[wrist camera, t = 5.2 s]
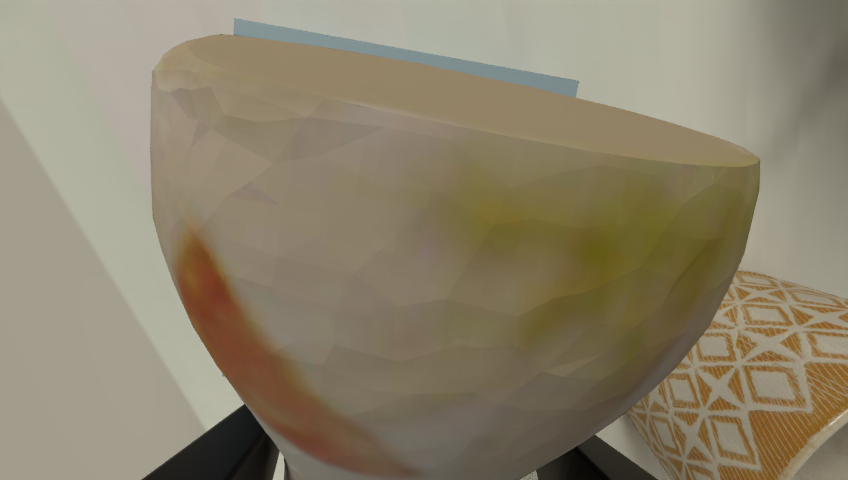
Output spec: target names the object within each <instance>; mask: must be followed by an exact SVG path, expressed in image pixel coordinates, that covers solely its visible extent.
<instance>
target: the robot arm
mask: <svg viewBox="0 0 848 480" xmlns="http://www.w3.org/2000/svg"><path fill="white" fill-rule="evenodd" d="M279 452H280V450H279V449H278V447H277V446H276V444H275V443H274V442H273V440H272V439H271V438H270V436H269V435H268V434H267V433H266V432H265V430H264V429H263V428H262V426H261V425H260V424H259V422H258V421H257V419H256V418H255V417H254V415H253V414H252V412H251V411H250V410H249V409H248V407H247V406H246V405H245V404H244V405H242V406H241V407H240V408H238V409H237V410H235V411H234V412H233V413H231V414H230V415H229V416H227V417H226V418H225V419H223V420H222V421H221V422H219V423H218V424H216V425H215V426H214V427H212V428H211V429H210V430H208V431H207V432H206V433H204V434H203V435H202V436H200V437H199V438H198V439H196V440H195V441H193V442H192V443H191V444H190V445H188V446H187V447H185V448H184V449H183V450H181V451H180V452H179V453H177V454H176V455H174V456H173V457H172V458H170V459H169V460H168V461H166V462H165V463H164V464H162V465H161V466H159V467H158V468H157V469H155V470H154V471H153V472H151V473H150V474H149V475H147V476H146V477H145V478H143V479H142V480H272V479H273V475H274V472H275V468H276V464H277V460H278V456H279ZM536 472H537V476H538V480H658V479H656V478H655V477H653V476H652V475H651V474H649V473H648V472H646V471H645V470H644V469H642V468H641V467H639V466H638V465H637V464H635V463H634V462H632V461H631V460H630V459H628V458H627V457H625V456H624V455H623V454H621V453H620V452H618V451H617V450H616V449H614V448H613V447H611V446H610V445H609V444H607V443H606V442H604V441H603V440H602V439H600V438H599V437H597V436H596V435H593V436H592V437H590V438H589V439H587V440H586V441H584V442H583V443H581V444H579V445H578V446H576V447H574V448H573V449H571V450H570V451H568V452H566V453H565V454H563V455H561V456H560V457H558V458H556V459H554V460H553V461H551V462H549V463H547V464H546V465H544V466H542V467H540V468H538V469H537V470H536Z"/></svg>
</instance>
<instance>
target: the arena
mask: <svg viewBox="0 0 848 480" xmlns="http://www.w3.org/2000/svg"><path fill="white" fill-rule="evenodd" d="M234 36H243V37H253V38H261V39H268V40H275V41H283V42H290V43H298V44H305V45H312V46H319V47H325V48H332V49H338V50H344V51H351V52H357V53H362V54H369V55H374V56H380V57H385V58H391V59H396V60H402V61H408V62H415V63H420V64H425V65H429V66H433V67H438V68H442V69H447V70H453V71H458V72H462V73H467V74H471V75H476V76H480V77H485V78H490V79H495V80H500V81H505V82H510V83H515V84H520V85H526V86H530V87H534V88H538V89H542V90H546V91H550V92H554V93H558V94H562V95H566V96H570V97H574V98H575V96H576V92H577V88H578V83H579V81H576V80H571V79H565V78H560V77H554V76H549V75H543V74H538V73H532V72H527V71H521V70H516V69H510V68H505V67H499V66H494V65H488V64H483V63H477V62H472V61H466V60H461V59H455V58H450V57H444V56H439V55H433V54H428V53H422V52H417V51H411V50H406V49H400V48H395V47H389V46H384V45H378V44H373V43H367V42H362V41H356V40H351V39H345V38H340V37H334V36H329V35H323V34H318V33H312V32H307V31H301V30H296V29H290V28H285V27H279V26H274V25H268V24H263V23H257V22H252V21H246V20H241V19H235V18H234ZM222 376H224V374H223V375H222Z"/></svg>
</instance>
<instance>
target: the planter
mask: <svg viewBox="0 0 848 480" xmlns="http://www.w3.org/2000/svg"><path fill="white" fill-rule="evenodd" d="M627 414H628V416H629V417H630V419H631V420H632V422H633V423H634V425H635V426H636V428H637V429H638V431H639V432H640V434H641V435H642V437H643V438H644V440H645V441H646V443H647V444H648V446H649V447H650V449H651V450H652V452H653V453H654V455H655V456H656V458H657V459H658V460H659V462H660V463H661V465H662V466H663V468H664V469H665V471H666V472H667V474H668V475H669V477H670V478H671V480H848V299H845V298H841V297H838V296H835V295H831V294H828V293H824V292H821V291H817V290H814V289H810V288H807V287H804V286H800V285H797V284H793V283H790V282H786V281H783V280H779V279H776V278H773V277H769V276H766V275H762V274H758V273H752V272H744V271H736V273H735V276H734V278H733V280H732V283H731V285H730V287H729V289H728V291H727V293H726V295H725V297H724V299H723V301H722V303H721V305H720V306H719V308H718V310H717V312H716V314H715V316H714V318H713V320H712V322H711V324H710V326H709V327H708V329H707V330H706V331H705V332H704V334H703V335H702V336H701V337H700V339H699V340H698V341H697V342H696V344H695V345H694V346H693V348H692V349H691V350H690V351H689V353H688V354H687V355H686V356H685V358H684V359H683V360H682V361H681V363H680V364H679V365H678V366H677V367H676V368H675V369H674V370H673V371H672V372H671V373H670V374H669V375H668V376H667V377H666V378H665V379H664V380H663V381H662V382H661V383H660V384H659V385H658V386H657V387H656V388H655V389H654V390H652V391H651V392H650V393H648V394H647V395H646V396H645V397H643V398H642V399H641V400H640V401H639V402H637V403H636V404H635V405H634V406H633V407H631V408H630V409H629V410H628V411H627Z"/></svg>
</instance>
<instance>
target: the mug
mask: <svg viewBox="0 0 848 480" xmlns="http://www.w3.org/2000/svg"><path fill="white" fill-rule="evenodd" d="M150 156H151V186H152V210H153V220H154V223H155V227H156V231H157V234H158V238H159V242H160V245H161V249H162V252H163V255H164V258H165V260H166V263H167V266H168V269H169V272H170V275H171V278H172V280H173V283H174V285H175V287H176V290H177V292H178V294H179V297H180V299H181V301H182V304H183V306H184V308H185V310H186V312H187V315H188V317H189V319H190V321H191V323H192V326H193V327H194V329H195V331H196V332H197V334H198V335H199V337H200V339H201V340H202V342H203V343H204V345H205V347H206V348H207V350H208V352H209V353H210V355H211V357H212V358H213V360H214V362H215V363H216V365H217V366H218V368H219V369H220V370H221V372H222V373H223V374H224V376H225V377H226V378H227V379H228V381H229V382H230V384H231V385H232V387H233V388H234V389H235V391H236V392H237V394H238V395H239V397H240V398H241V400H242V401H243V402H244V404H245V405H246V406H247V407H248V409H249V410H250V411H251V412H252V414H253V415H254V417H255V418H256V419H257V421H258V422H259V424H260V425H261V426H262V428H263V429H264V430H265V432H266V433H267V434H268V435H269V436H270V438H271V439H272V440H273V442H274V443H275V444H276V446H277V447H278V449H279V450H280V452H281V453H282V455H283V456H284V463H285V472H284V480H519V479H521V478H523V477H525V476H526V475H528V474H530V473H532V472H533V471H535V470H537V469H538V468H540V467H542V466H544V465H546V464H547V463H549V462H551V461H553V460H554V459H556V458H558V457H560V456H561V455H563V454H565V453H566V452H568V451H570V450H571V449H573V448H574V447H576V446H578V445H579V444H581V443H583V442H584V441H586V440H587V439H589V438H590V437H592V436H593V435H595V434H596V433H598V432H599V431H601V430H602V429H603V428H605V427H606V426H608V425H609V424H611V423H612V422H614V421H615V420H617V419H618V418H619V417H621V416H622V415H623V414H624V413H626V412H627V411H628V410H629V409H630V408H631V407H633V406H634V405H635V404H636V403H637V402H639V401H640V400H641V399H642V398H643V397H645V396H646V395H647V394H648V393H650V392H651V391H652V390H654V389H655V388H656V387H657V386H658V385H659V384H660V383H661V382H662V381H663V380H664V379H665V378H666V377H667V376H668V375H669V374H670V373H671V372H672V371H673V370H674V369H675V368H676V367H677V366H678V365H679V364H680V363H681V361H682V360H683V359H684V358H685V356H686V355H687V354H688V353H689V351H690V350H691V349H692V348H693V346H694V345H695V344H696V342H697V341H698V340H699V339H700V337H701V336H702V335H703V334H704V332H705V331H706V330H707V329H708V327H709V326H710V324H711V322H712V320H713V318H714V316H715V314H716V312H717V310H718V308H719V306H720V305H721V303H722V301H723V299H724V297H725V295H726V293H727V291H728V289H729V287H730V285H731V283H732V280H733V278H734V276H735V273H736V271H737V269H738V266H739V264H740V262H741V259H742V257H743V255H744V252H745V247H746V243H747V239H748V235H749V230H750V226H751V222H752V218H753V214H754V209H755V205H756V201H757V197H758V192H759V182H760V159H759V158H758V157H757V156H755V155H754V154H752V153H751V152H749V151H748V150H746V149H744V148H743V147H740V146H738V145H735V144H733V143H731V142H728V141H725V140H722V139H720V138H717V137H714V136H711V135H708V134H705V133H701V132H698V131H695V130H692V129H689V128H686V127H682V126H679V125H676V124H673V123H669V122H666V121H662V120H659V119H655V118H652V117H648V116H644V115H641V114H637V113H634V112H630V111H626V110H623V109H619V108H615V107H611V106H607V105H603V104H598V103H594V102H590V101H586V100H582V99H578V98H574V97H570V96H566V95H562V94H558V93H554V92H550V91H546V90H542V89H538V88H534V87H530V86H526V85H520V84H515V83H510V82H505V81H500V80H495V79H490V78H485V77H480V76H476V75H471V74H467V73H462V72H458V71H453V70H447V69H442V68H438V67H433V66H429V65H425V64H420V63H415V62H408V61H402V60H396V59H391V58H385V57H380V56H374V55H369V54H362V53H357V52H351V51H344V50H338V49H332V48H325V47H319V46H312V45H305V44H298V43H290V42H283V41H275V40H268V39H261V38H253V37H243V36H234V35H223V34H220V35H213V36H207V37H203V38H199V39H194V40H190V41H186V42H184V43H182V44H180V45H178V46H176V47H174V48H173V49H171V50H170V51H168V52H167V53H165V54H164V55H163V57H162V58H161V60H160V61H159V63H158V64H157V65H156V67H155V68H154V69H153V70H152V87H151V141H150Z"/></svg>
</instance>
